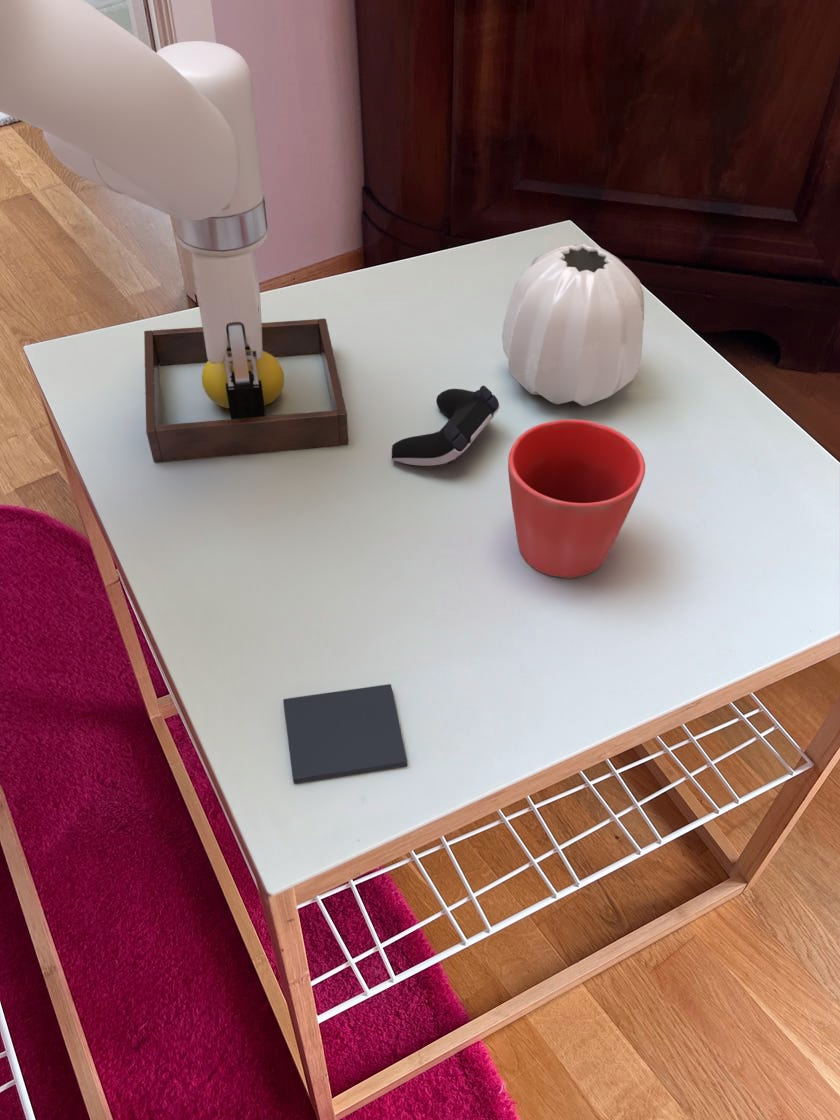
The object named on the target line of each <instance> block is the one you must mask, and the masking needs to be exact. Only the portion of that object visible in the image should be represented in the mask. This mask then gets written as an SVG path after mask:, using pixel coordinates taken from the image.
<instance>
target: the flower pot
mask: <svg viewBox="0 0 840 1120" xmlns="http://www.w3.org/2000/svg"><path fill="white" fill-rule="evenodd" d="M644 458H645V457H644V456H643V454H642V451H641V450H640V449H639V447H638V446H637V445H636V444H635V442H633V441H632V440H631V439H630V438H629V437H627V436H626V435H625V434H623V433H622V432H620V431H619V430H616V429H614V428H612V427H610V426H607V425H605V424H602V423H598V422H594V421H590V420H583V419H557V420H552V421H547V422H543V423H540V424H537V425H534V426H533V427H531V428H529V429H527V430H526V431H524V432H523V433H522V434H520V435H519V436H518V437H517V438H516V439H515V441H514V442H513V444H512V445H511V447H510V450H509V453H508V457H507V472H508V481H509V482H508V483H509V489H510V491H509V492H510V498H511V499H510V500H511V507H512V513H513V521H514V528H515V532H516V534H515V535H516V540H517V546H518V550H519V553H520V555H521V557H522V558H523V560H524V561H525V562H526V563H527V564H528V565H529V566H530V567H531V568H533V569H534V570H536V571H538V572H539V573H542V574H545V575H547V576H549V577H560V578H563V579H572V578H573V579H574V578H580V577H583V576H587V575H589V574H591V573H593V572H595V571H597V570H598V569H599V568H600V567H601V566H602V565H603V564H604V562H605V560H606V559H607V557H608V554H609V552H610V551H611V549H612V548H613V545H614V543H615V542H616V539H617V537H618V535H619V533H620V531H621V529H622V528H623V525H624V523H625V521H626V519H627V517H628V514H629V513H630V511H631V508H632V506H633V505H634V502H635V499H636V498H637V495H638V493H639V491H640V488H641V486H642V483H643V481H644V478H645V475H646V463H645V459H644Z"/></svg>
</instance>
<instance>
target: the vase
mask: <svg viewBox="0 0 840 1120" xmlns="http://www.w3.org/2000/svg"><path fill="white" fill-rule="evenodd" d="M644 295H645V294H644V290H643V287H642V283H641V281H640V279H639V278H638V277H637V276H636V274H634V272H632V270H630V268H629V267H628V266H626V265H625V263H623V261H622V260H621V259H620V258H619V257H617V256H615V255H614V254H612V253H611V252H609V251H607V250H606V249H604V248H602V247H599V246H590V245H587V244H586V243H579V244H575V245H572V244H567V245H563V246H559V247H557V248H554V249H552V250H549V251H547V252H545V253H542V254H541V255H538V257H535V258H534V259H533V260H532V262H531V264H530V266H529V267H528V268H527V269H526V270H524V271H523V272H522V273H521V274H520V277H519V279H518V280H517V281H516V282H515V285H514V287H513V290H512V292H511V295H510V297H509V301H508V303H507V308H506V311H505V315H504V319H503V324H502V332H501V333H502V334H501V336H502V337H501V342H502V349H503V352H504V353H505V357H506V358H507V361H508V372H509V374H510V375H512V377H513V378H514V379H515V380H516V381H517V382H518V383H519V384H520V385H521V386H522V387H523V388H524V389H525V390H526V391H527V392H528V393H529V394H531V395H534V396H535V395H536V396H537V395H539V396H541V397H543V398H544V399H546V400H547V401H548V402H550V403H552V404H554V405H561V404H566V403H570V402H573V403H575V404H578V405H580V406H582V407H587V406H589V405H592V404H594V403H595V404H596V403H597V402H600V401H603V400H604V399H609V398H610V397H611V396H613V395H614V394H616V393H617V392H619V391H620V390H621V389H623V388H624V387H626V385H628V384H630V383H631V382H632V381H633V380H634V379H635V377H636V376H637V374H638V371H639V369H640V365H641V359H642V353H643V340H644V339H643V338H644V323H645V297H644Z"/></svg>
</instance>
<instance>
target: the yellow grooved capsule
mask: <svg viewBox="0 0 840 1120" xmlns="http://www.w3.org/2000/svg"><path fill="white" fill-rule="evenodd" d="M246 351H250V350H246ZM228 353H231V351H228ZM247 365H248V371H251V364H250V361H247ZM256 366H257V374H258V381H260V380H261V383H262V391H263V399H264V406H267V405H270V404H271V403H273V402H274V401H275V400H276V399H278V398H279V396H280V395H281V393H282V391H283V388H284V385H285V374H284V370H283V368H282V366H281V364H280V362H279V361H278V359H277V358H276V357H275V356H274V357H273V356H272V355H270V354H269V353H267V352H265V351H262V357H261V358H260V359H259V360H258V361H257V358H256ZM231 367H232V372H234V367H233V363H231ZM201 383H202V387H203V390H204V392H205V394H206V395H207V397H208V398H209V399H210V401H212V402H213V403H215V404H216V405H217V406H220V407H222V408H225V409H229V403H228V397H227V391H226V383H228V381H227V374H226V367H225V361H224V358H223V361H222V363H215V364H212V363H211V362H210V361H209V360H208V361H207V362H205V364H204V367H203V369H202V373H201Z"/></svg>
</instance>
